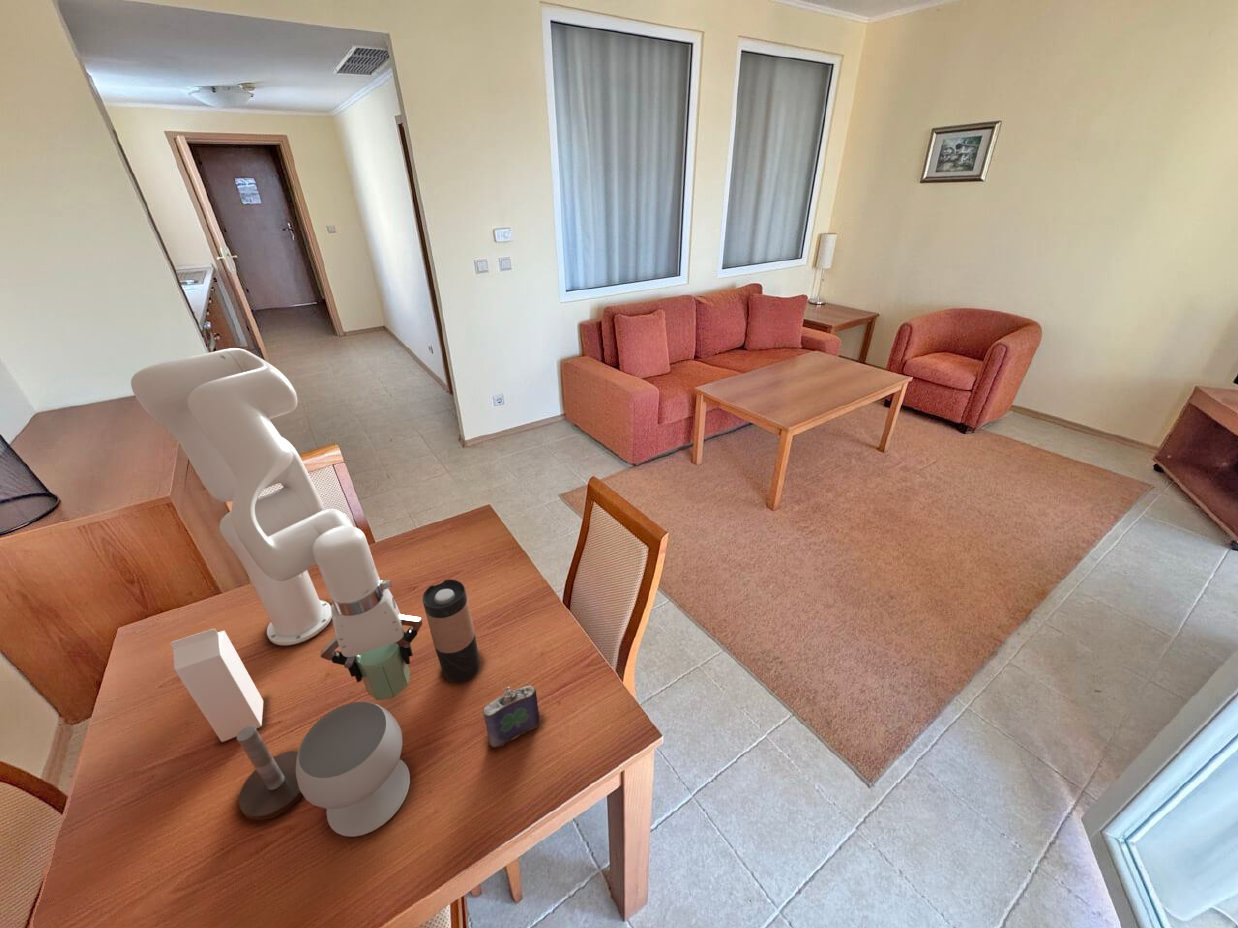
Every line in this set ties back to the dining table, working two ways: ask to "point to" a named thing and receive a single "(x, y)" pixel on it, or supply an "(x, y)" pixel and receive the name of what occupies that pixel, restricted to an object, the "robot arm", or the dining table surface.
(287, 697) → the dining table surface
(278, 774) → the towel holder
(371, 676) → the green cup
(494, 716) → the flask
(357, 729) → the chalice
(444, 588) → the travel mug
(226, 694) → the milk
